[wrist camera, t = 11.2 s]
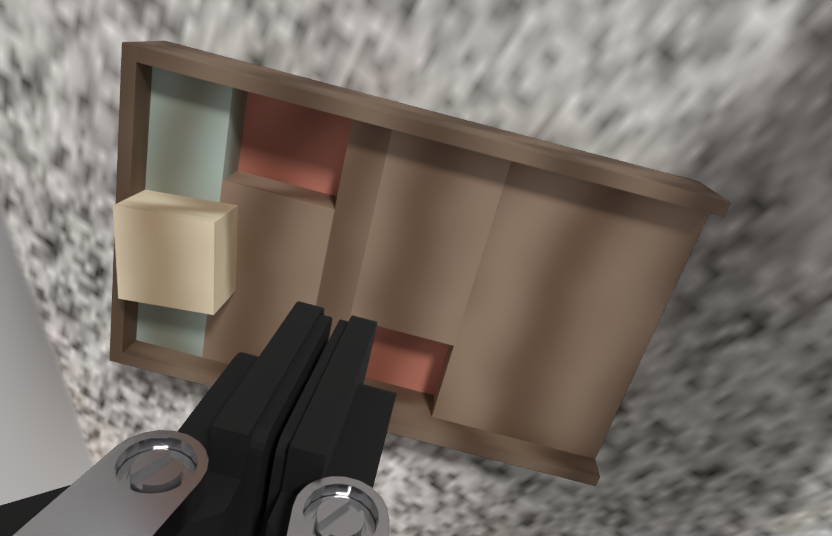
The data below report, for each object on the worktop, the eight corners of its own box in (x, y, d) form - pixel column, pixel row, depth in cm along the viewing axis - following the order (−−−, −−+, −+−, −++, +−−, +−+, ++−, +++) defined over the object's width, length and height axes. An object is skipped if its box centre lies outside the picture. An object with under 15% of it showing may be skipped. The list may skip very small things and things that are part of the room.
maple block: (237, 205, 30) (214, 222, 28) (235, 290, 32) (213, 315, 30) (145, 189, 31) (112, 205, 28) (148, 275, 33) (118, 298, 30)
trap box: (699, 181, 30) (730, 202, 27) (583, 440, 37) (595, 486, 33) (164, 40, 30) (122, 42, 26) (146, 327, 37) (109, 360, 33)
